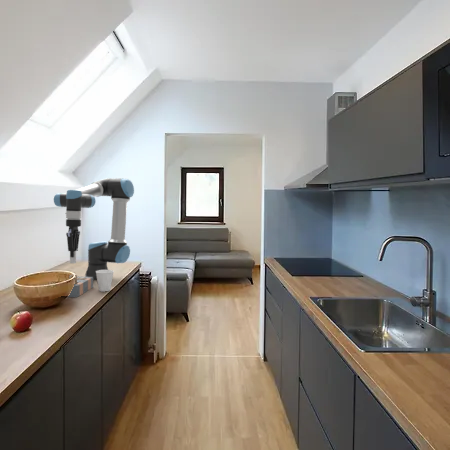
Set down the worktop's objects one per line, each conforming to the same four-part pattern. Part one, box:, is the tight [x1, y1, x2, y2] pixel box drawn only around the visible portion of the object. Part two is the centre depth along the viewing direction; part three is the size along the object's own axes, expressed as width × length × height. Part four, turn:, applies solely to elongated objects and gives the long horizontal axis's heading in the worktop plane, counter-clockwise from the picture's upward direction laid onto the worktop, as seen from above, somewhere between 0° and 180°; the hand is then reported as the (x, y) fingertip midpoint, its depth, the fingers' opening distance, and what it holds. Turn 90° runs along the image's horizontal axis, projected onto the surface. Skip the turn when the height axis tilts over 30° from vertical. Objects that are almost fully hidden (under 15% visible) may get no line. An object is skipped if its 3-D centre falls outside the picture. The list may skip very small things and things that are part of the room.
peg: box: [68, 274, 78, 284], centre depth 216 cm, size 4×4×6 cm
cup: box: [96, 269, 115, 293], centre depth 227 cm, size 10×10×11 cm
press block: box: [67, 275, 94, 298], centre depth 223 cm, size 24×9×6 cm, turn 179°
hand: (72, 263), depth 215 cm, fingers closed
